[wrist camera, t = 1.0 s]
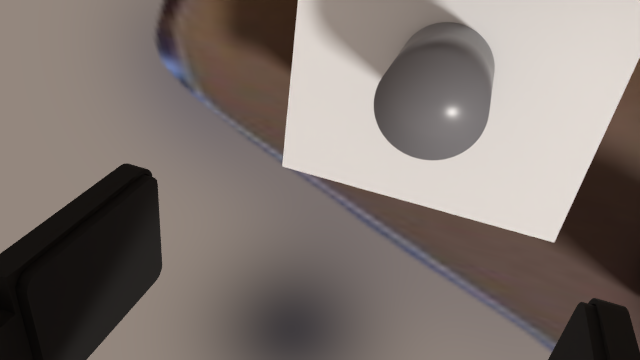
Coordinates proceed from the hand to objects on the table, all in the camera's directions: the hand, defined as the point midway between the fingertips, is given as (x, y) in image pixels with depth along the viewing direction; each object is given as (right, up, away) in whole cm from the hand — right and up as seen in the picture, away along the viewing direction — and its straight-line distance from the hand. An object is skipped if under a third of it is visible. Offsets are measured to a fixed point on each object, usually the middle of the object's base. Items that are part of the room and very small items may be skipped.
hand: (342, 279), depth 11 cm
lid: (+6, +8, +14) cm, 17 cm away
